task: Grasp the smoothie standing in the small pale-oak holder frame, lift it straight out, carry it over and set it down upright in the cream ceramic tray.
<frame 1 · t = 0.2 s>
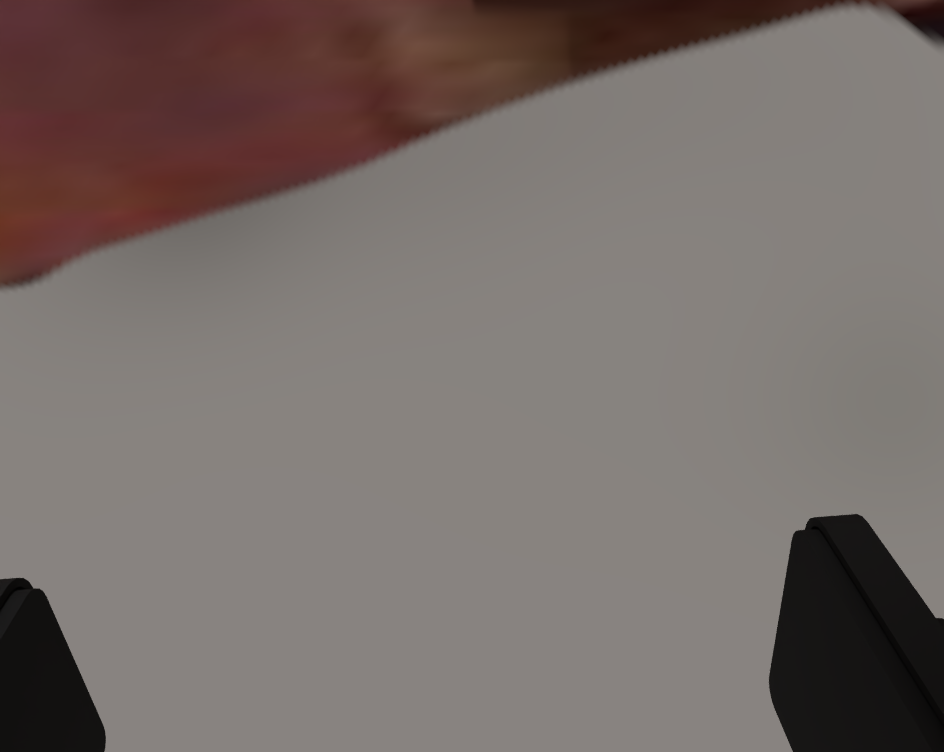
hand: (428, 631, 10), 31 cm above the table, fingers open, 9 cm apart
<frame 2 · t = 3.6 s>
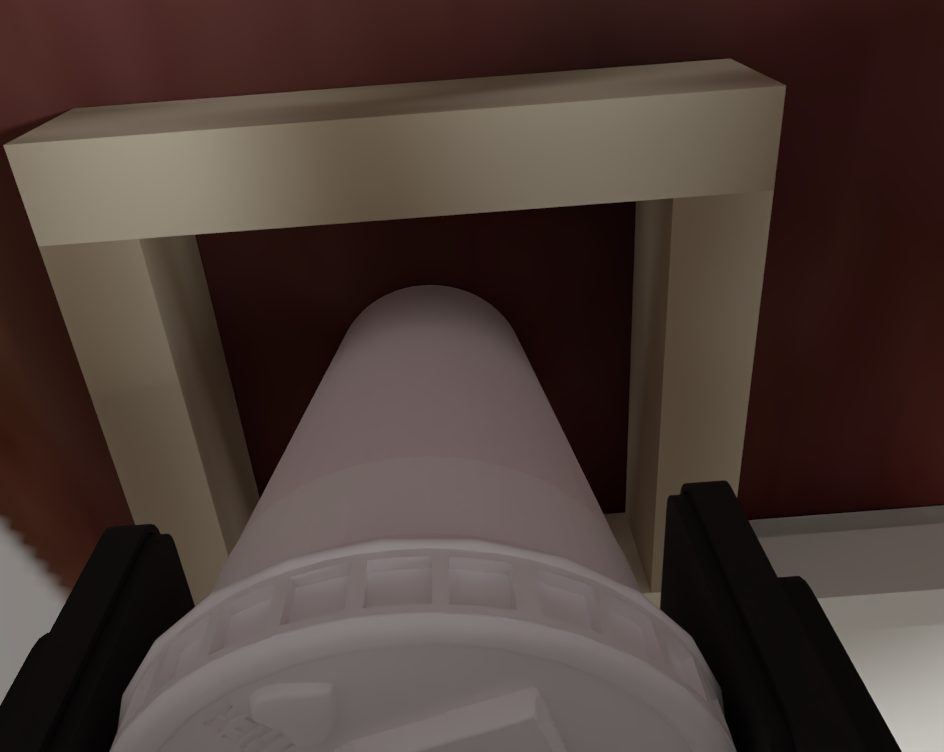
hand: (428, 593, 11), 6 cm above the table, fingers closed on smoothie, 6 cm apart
holder: (431, 370, 16), on the table
smoothie: (431, 365, 16), resting in holder, touching gripper
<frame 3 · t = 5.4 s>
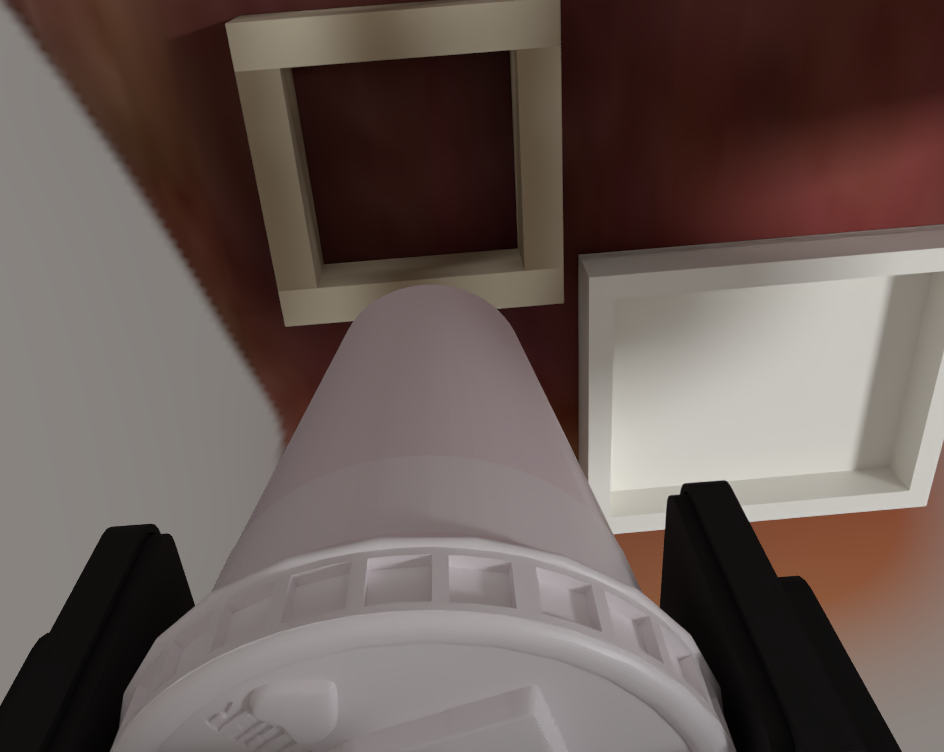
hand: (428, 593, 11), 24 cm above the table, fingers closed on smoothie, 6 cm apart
tray: (752, 374, 37), on the table
holder: (411, 159, 31), on the table
smoothie: (431, 365, 16), point 17 cm above the table, touching gripper
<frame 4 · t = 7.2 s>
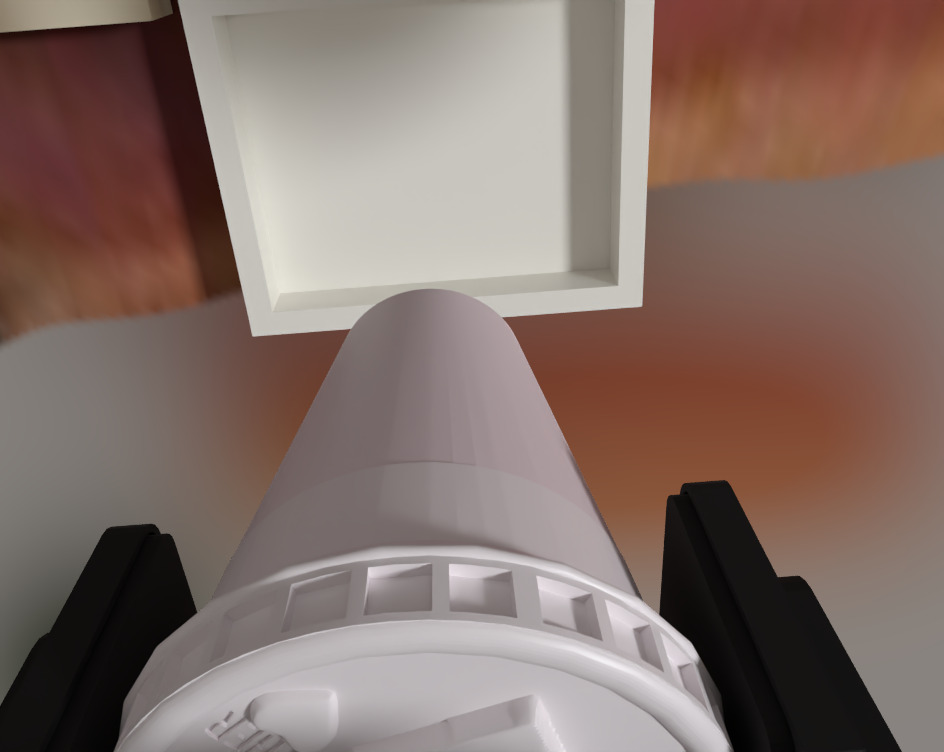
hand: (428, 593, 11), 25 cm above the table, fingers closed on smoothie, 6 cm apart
tray: (433, 146, 32), on the table
smoothie: (431, 368, 16), point 18 cm above the table, touching gripper
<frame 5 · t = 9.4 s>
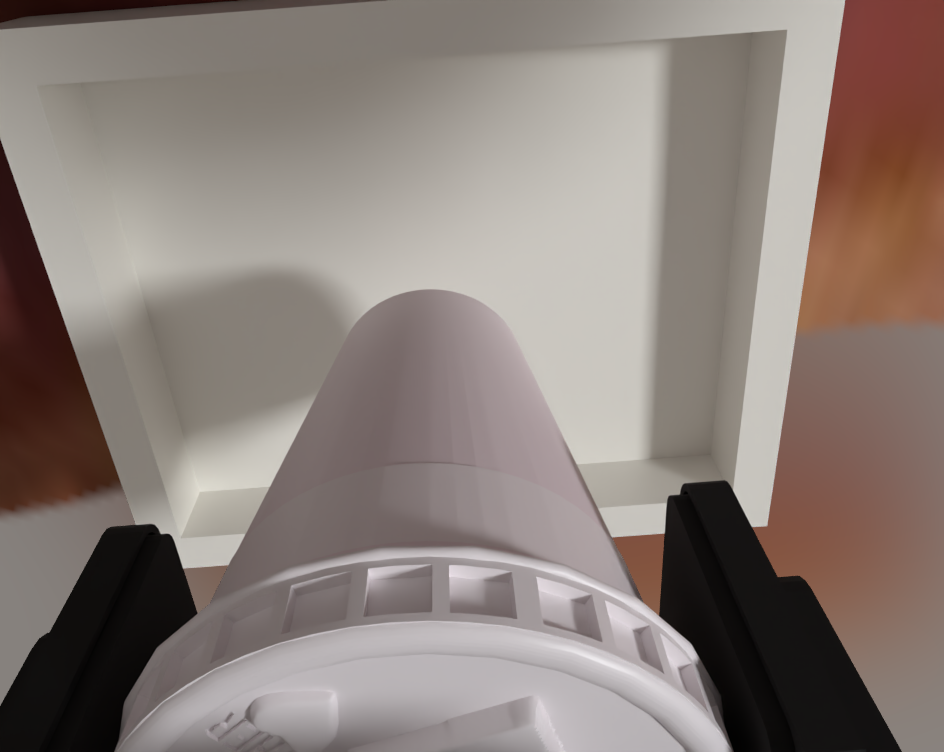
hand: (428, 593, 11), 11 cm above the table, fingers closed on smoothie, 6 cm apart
tray: (437, 278, 20), on the table
smoothie: (431, 369, 16), point 4 cm above the table, touching gripper
when the fingers open (8 cm above the table, at t = 11.0 s): smoothie drops 1 cm, resting on tray.
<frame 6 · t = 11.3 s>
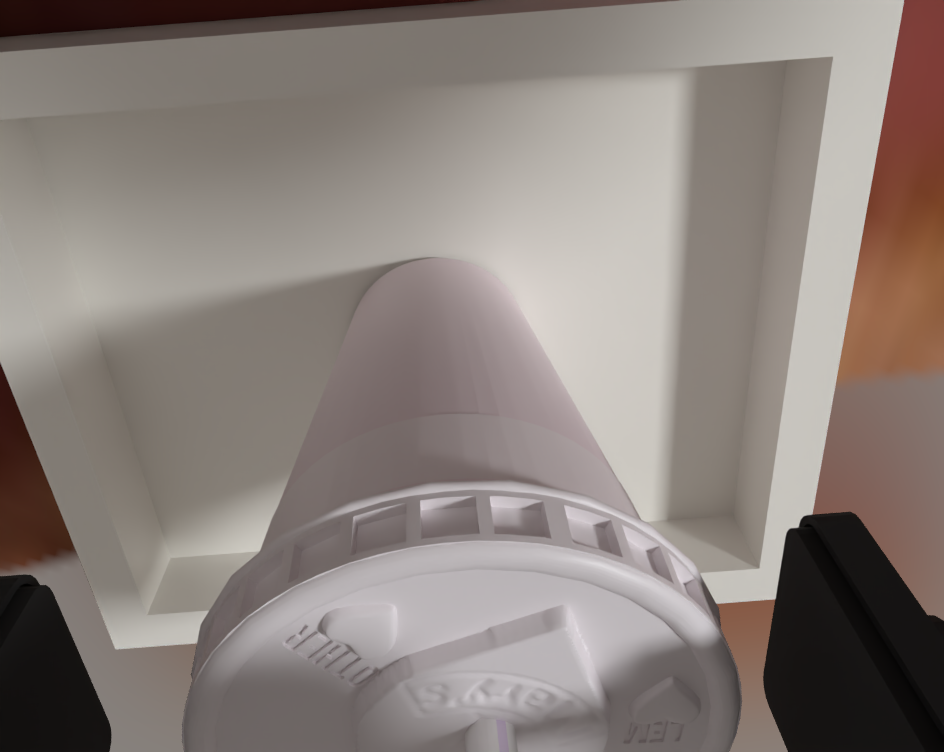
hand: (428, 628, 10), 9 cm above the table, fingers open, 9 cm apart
tray: (431, 327, 18), on the table
smoothie: (437, 333, 18), resting on tray
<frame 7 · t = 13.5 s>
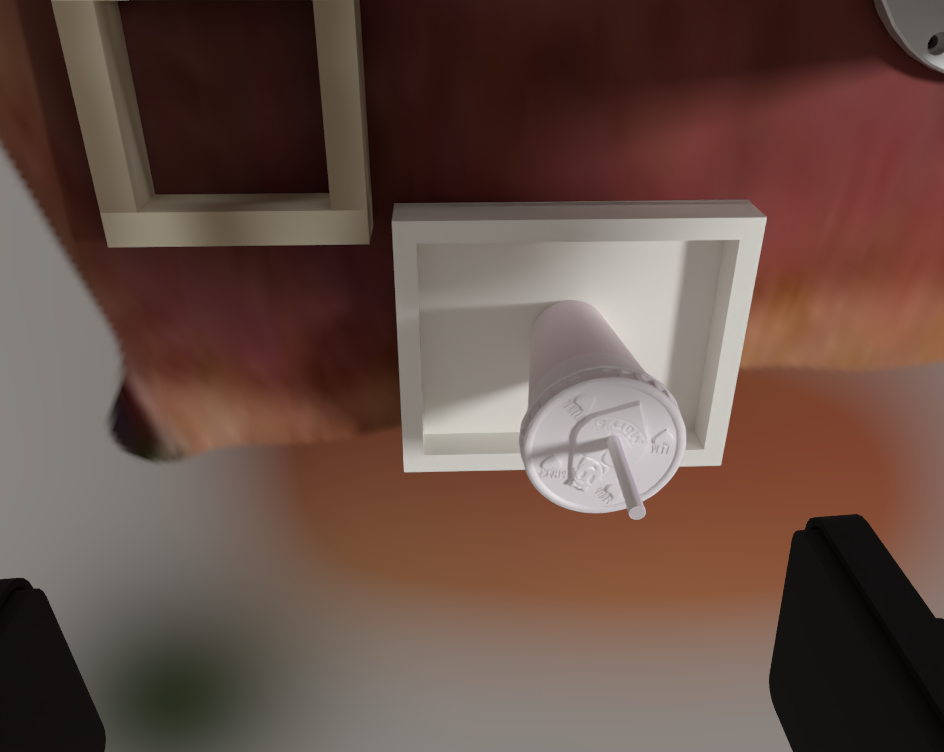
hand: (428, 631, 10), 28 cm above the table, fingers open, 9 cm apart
tray: (564, 330, 40), on the table
holder: (233, 99, 34), on the table
smoothie: (568, 333, 40), resting on tray
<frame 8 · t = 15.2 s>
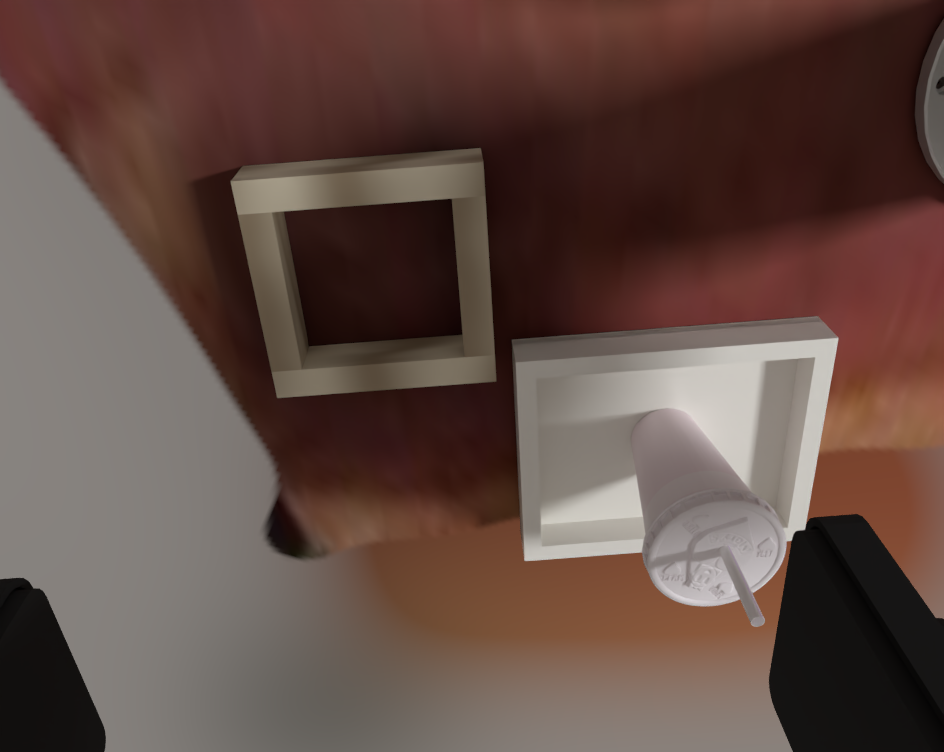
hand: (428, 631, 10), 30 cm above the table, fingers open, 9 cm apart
tray: (658, 431, 46), on the table
holder: (376, 268, 40), on the table
smoothie: (663, 434, 45), resting on tray
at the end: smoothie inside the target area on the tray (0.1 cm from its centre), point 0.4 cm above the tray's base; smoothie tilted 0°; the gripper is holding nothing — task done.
